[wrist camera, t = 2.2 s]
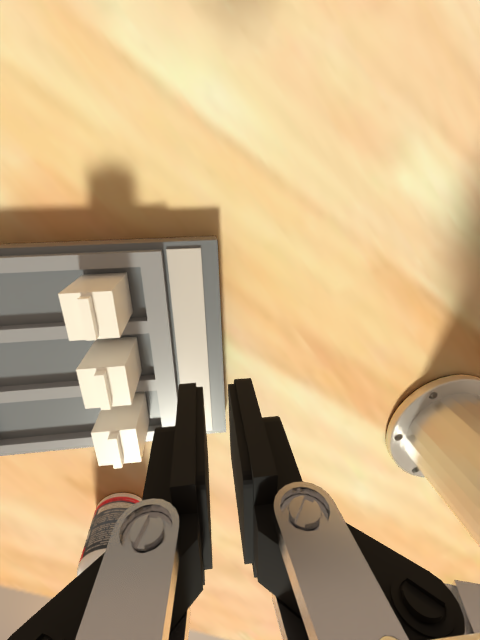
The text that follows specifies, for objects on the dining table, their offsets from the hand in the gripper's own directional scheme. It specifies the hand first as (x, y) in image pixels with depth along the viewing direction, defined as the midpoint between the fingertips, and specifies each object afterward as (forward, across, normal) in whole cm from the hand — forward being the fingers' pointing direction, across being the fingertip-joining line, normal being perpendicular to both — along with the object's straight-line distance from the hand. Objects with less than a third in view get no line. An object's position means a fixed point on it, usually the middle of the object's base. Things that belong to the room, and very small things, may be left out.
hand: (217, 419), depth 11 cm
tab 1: (+15, +7, 0) cm, 17 cm away
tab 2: (+15, +7, +5) cm, 17 cm away
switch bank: (+17, +11, +5) cm, 21 cm away
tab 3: (+15, +7, +10) cm, 19 cm away
